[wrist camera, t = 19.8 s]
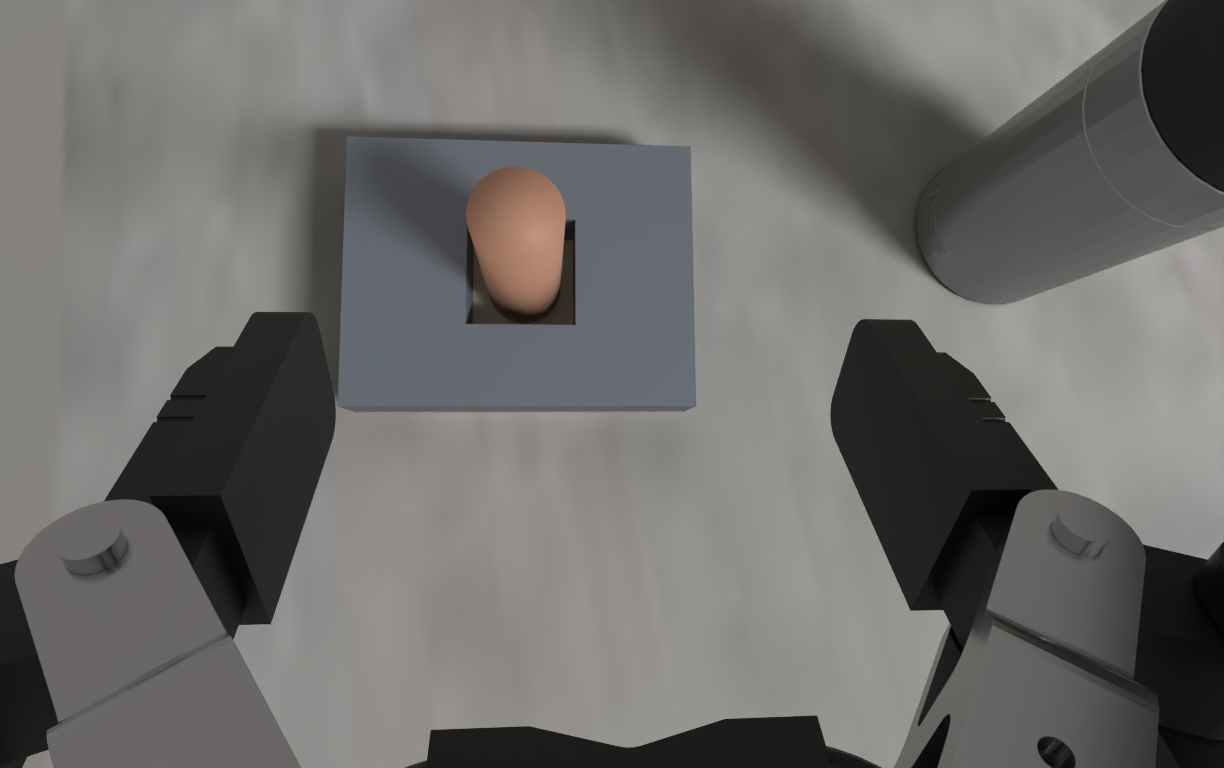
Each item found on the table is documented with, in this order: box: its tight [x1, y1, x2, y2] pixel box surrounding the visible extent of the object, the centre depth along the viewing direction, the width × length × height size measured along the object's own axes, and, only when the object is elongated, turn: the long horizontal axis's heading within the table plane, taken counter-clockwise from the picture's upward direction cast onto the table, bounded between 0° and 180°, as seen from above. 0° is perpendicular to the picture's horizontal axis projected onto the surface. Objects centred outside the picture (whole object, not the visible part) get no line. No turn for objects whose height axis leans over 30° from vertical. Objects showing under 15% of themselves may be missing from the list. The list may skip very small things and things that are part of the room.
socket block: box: [338, 136, 696, 413], centre depth 41 cm, size 18×14×4 cm
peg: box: [466, 167, 566, 323], centre depth 36 cm, size 4×4×12 cm
